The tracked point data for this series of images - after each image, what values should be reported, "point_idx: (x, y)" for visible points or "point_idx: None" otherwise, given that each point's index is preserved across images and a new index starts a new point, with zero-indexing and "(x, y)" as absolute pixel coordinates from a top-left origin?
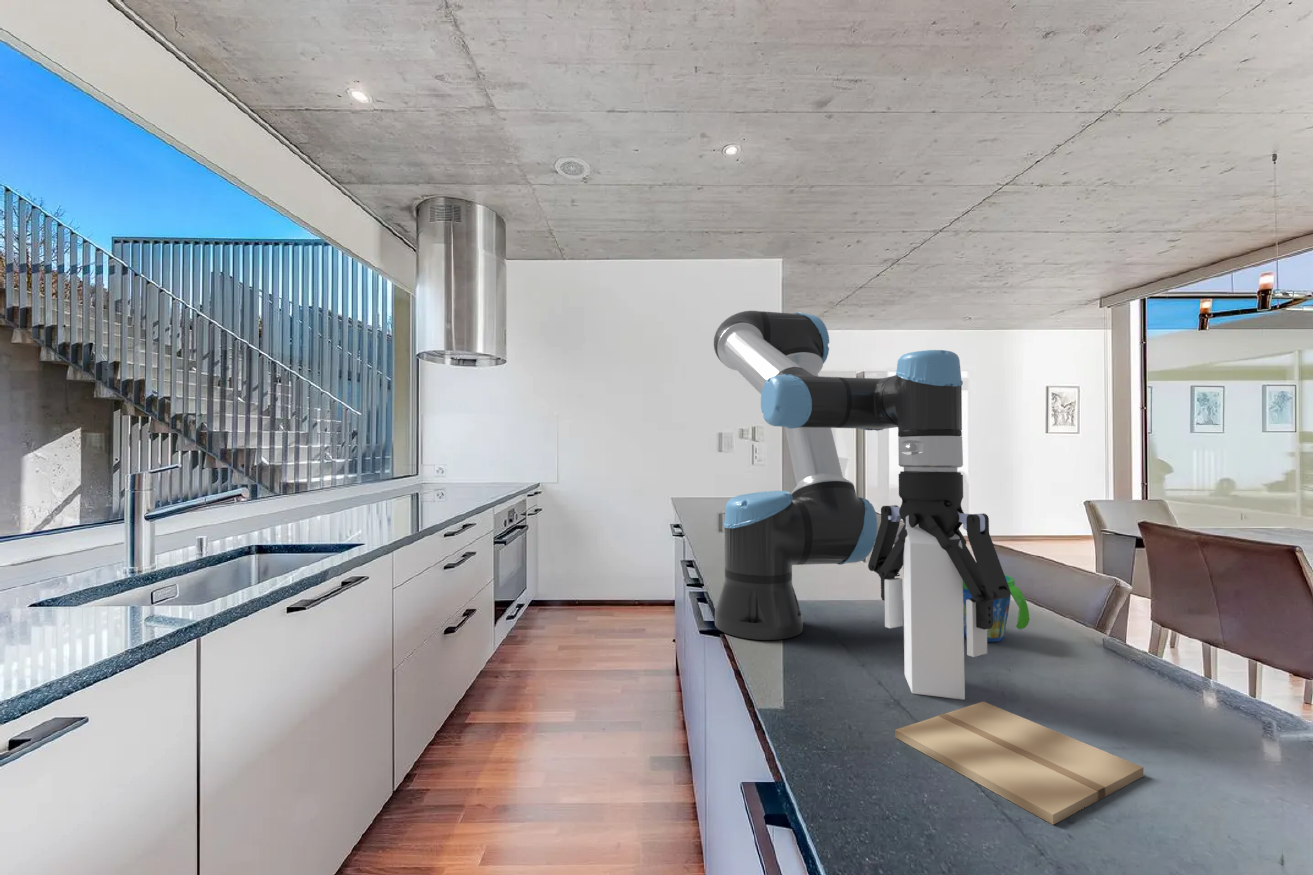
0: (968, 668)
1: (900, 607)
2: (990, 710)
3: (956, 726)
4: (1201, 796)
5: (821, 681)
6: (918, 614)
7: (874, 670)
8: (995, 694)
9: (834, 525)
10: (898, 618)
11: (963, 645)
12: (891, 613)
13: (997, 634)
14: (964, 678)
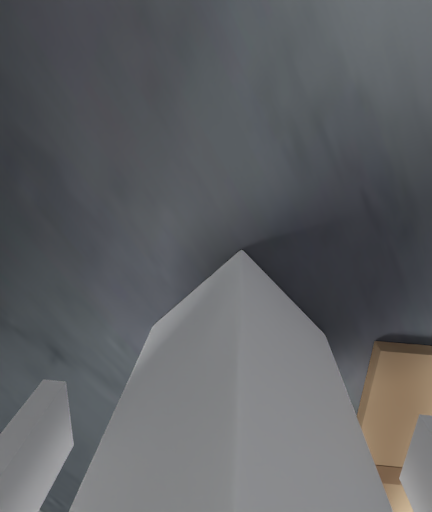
0: (206, 98)
1: (22, 464)
2: (413, 382)
3: (394, 489)
4: None
5: None
6: None
7: (95, 357)
8: (358, 234)
9: None
10: (51, 430)
11: (369, 452)
12: (42, 490)
13: None
14: (337, 367)
